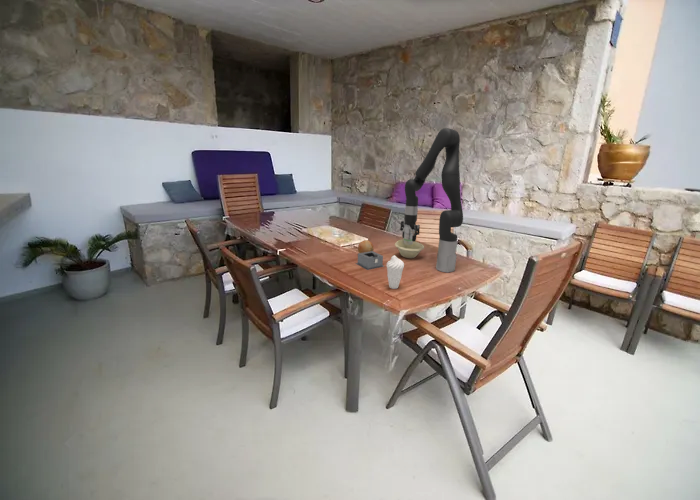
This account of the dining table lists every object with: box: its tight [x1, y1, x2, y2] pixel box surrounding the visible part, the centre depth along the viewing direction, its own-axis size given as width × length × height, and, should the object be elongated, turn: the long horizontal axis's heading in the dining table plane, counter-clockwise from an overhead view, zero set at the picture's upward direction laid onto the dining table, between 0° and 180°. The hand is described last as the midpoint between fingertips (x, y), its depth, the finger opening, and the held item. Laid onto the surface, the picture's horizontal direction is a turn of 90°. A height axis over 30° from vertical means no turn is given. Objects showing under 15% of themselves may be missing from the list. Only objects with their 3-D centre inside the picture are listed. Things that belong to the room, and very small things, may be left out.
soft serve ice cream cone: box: [386, 255, 405, 290], centre depth 150 cm, size 8×8×16 cm
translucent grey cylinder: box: [402, 225, 414, 245], centre depth 194 cm, size 5×5×12 cm
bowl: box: [394, 238, 425, 259], centre depth 197 cm, size 14×18×15 cm
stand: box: [355, 250, 385, 271], centre depth 178 cm, size 12×12×8 cm
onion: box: [357, 239, 375, 253], centre depth 196 cm, size 10×10×10 cm
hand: (408, 239), depth 194 cm, fingers open, 8 cm apart
